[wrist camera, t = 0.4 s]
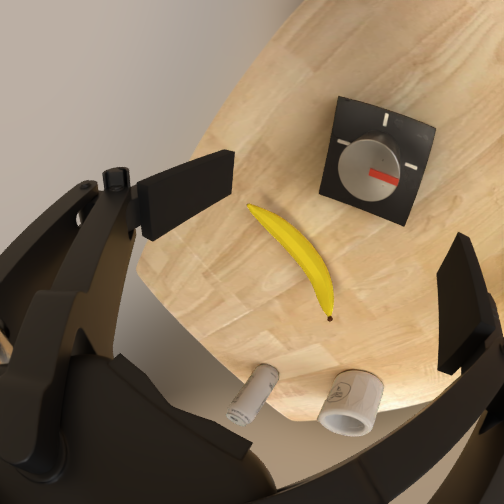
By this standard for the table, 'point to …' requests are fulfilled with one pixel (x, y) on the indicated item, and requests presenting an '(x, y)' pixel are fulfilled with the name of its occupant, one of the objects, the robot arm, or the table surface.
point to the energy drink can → (252, 395)
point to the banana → (300, 255)
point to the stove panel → (410, 145)
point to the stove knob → (370, 166)
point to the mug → (352, 403)
